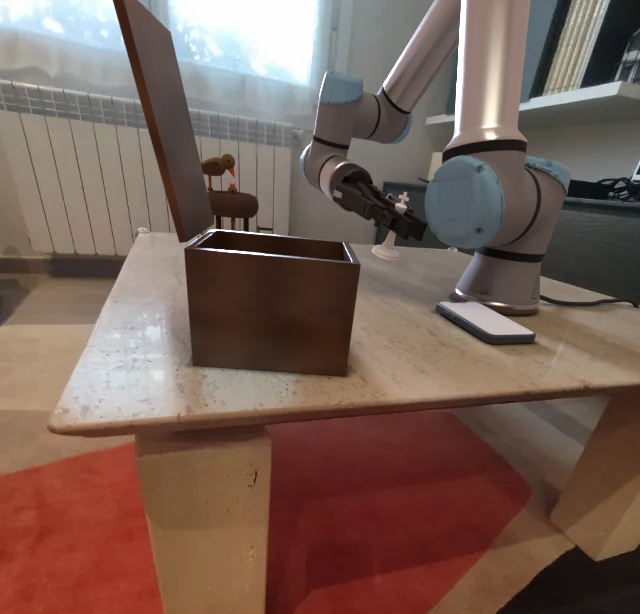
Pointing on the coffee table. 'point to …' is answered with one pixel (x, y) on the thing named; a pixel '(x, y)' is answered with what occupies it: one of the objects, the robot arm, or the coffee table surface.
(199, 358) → the chest
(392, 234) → the chess piece
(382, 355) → the coffee table surface
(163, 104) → the lid
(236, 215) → the bird figurine
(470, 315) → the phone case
